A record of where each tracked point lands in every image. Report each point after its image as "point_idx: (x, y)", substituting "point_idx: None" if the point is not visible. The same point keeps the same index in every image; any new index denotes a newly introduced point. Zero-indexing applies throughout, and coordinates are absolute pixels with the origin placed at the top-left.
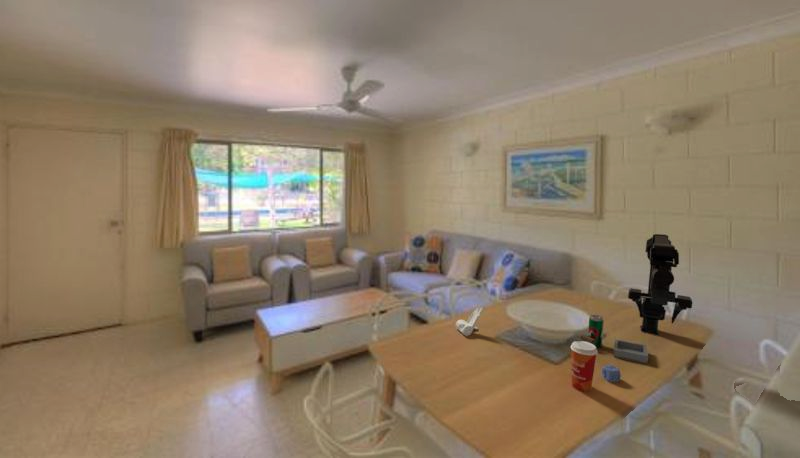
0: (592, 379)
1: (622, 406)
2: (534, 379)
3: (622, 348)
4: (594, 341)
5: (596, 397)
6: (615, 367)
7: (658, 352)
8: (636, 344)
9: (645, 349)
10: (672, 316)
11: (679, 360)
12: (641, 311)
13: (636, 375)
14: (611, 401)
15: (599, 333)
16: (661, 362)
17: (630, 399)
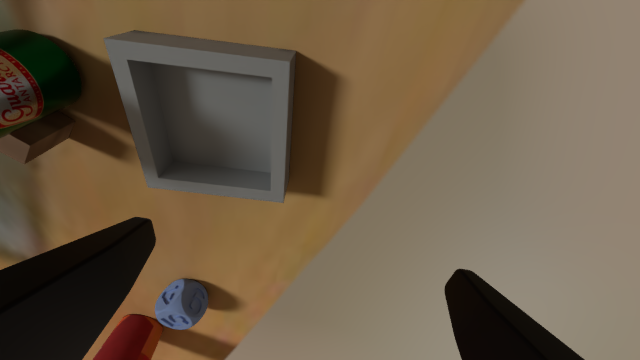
0: (151, 354)
1: (226, 350)
2: None
3: (180, 74)
4: (37, 145)
5: (180, 342)
6: (183, 316)
7: (368, 15)
8: (235, 71)
9: (278, 134)
10: (490, 357)
11: (445, 86)
12: (84, 339)
13: (249, 257)
14: (206, 344)
15: (3, 135)
16: (348, 143)
17: (238, 334)
